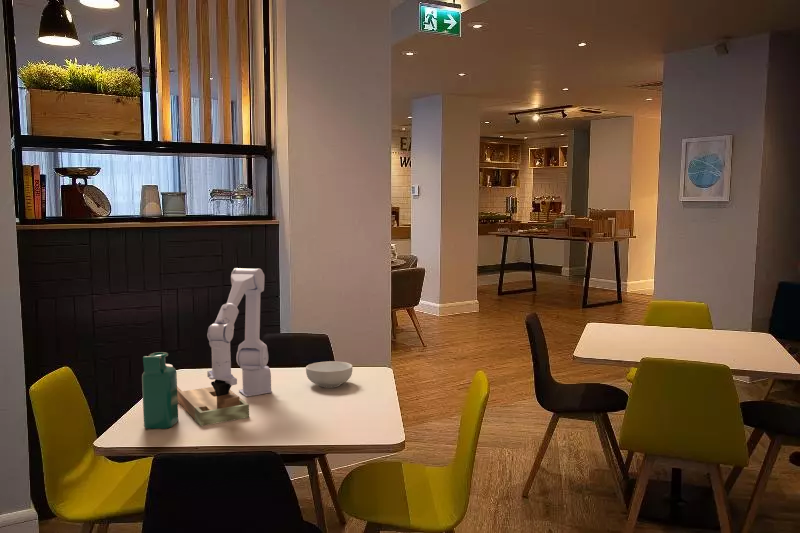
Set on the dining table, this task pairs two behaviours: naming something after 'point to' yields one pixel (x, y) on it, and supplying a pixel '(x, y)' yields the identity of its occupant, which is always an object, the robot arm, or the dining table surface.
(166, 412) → the green bottle
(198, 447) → the dining table surface
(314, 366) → the cereal bowl
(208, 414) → the trap box
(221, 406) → the block
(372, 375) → the dining table surface
